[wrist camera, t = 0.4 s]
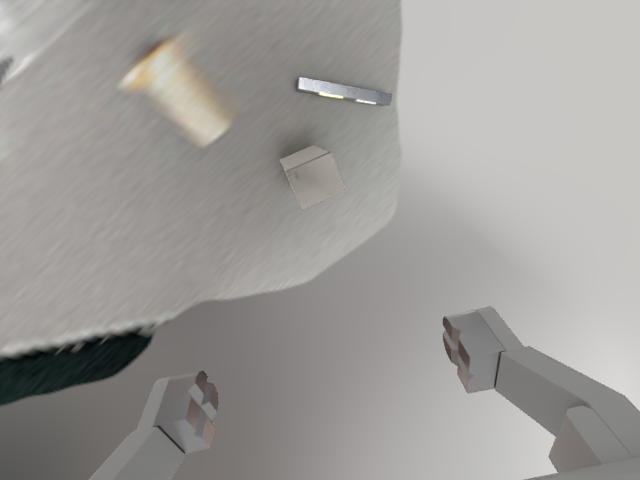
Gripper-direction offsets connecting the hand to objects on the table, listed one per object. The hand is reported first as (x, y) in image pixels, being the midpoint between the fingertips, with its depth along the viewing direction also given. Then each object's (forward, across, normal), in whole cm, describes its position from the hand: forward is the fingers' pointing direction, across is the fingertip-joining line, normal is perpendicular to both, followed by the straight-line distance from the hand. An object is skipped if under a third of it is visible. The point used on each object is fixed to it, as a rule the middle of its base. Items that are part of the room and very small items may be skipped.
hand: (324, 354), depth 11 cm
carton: (+44, +1, +9) cm, 45 cm away
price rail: (+46, -8, 0) cm, 47 cm away
